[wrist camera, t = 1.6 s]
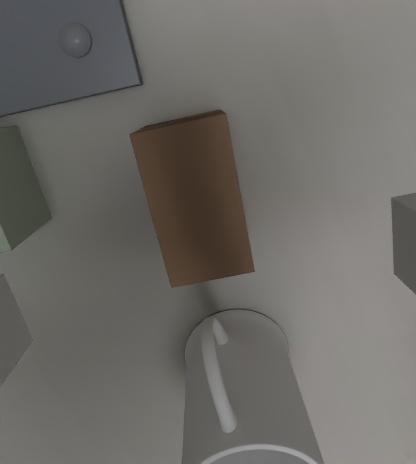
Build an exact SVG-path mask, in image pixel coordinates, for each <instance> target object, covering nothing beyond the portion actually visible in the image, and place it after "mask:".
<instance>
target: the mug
mask: <svg viewBox="0 0 416 464" xmlns="http://www.w3.org/2000/svg"><path fill="white" fill-rule="evenodd" d="M288 354H289V352H288V344H287V340H286V337H285V335H284V333H283V332H282V330H281V329H280V327H279V326H278V325H277V324H276V323H275V322H274V321H272V320H271V319H270V318H268V317H266V316H264V315H262V314H260V313H257V312H254V311H249V310H240V309H236V310H227V311H223V312H219V313H216V314H214V315H212V316H210V317H207V318H205V319H204V320H203V321H202V322H201V323H200V324H199V325H197V326H196V328H195V329H194V330H193V331H192V333H191V334H190V336H189V338H188V340H187V343H186V347H185V362H186V366H187V376H186V394H185V412H184V430H183V448H182V464H324V462H323V459H322V455H321V452H320V449H319V446H318V443H317V440H316V437H315V434H314V431H313V428H312V425H311V422H310V419H309V416H308V413H307V410H306V407H305V404H304V401H303V398H302V395H301V392H300V389H299V386H298V383H297V380H296V377H295V374H294V371H293V368H292V365H291V362H290V359H289V355H288Z"/></svg>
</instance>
